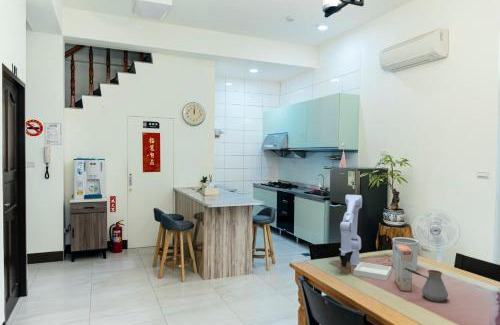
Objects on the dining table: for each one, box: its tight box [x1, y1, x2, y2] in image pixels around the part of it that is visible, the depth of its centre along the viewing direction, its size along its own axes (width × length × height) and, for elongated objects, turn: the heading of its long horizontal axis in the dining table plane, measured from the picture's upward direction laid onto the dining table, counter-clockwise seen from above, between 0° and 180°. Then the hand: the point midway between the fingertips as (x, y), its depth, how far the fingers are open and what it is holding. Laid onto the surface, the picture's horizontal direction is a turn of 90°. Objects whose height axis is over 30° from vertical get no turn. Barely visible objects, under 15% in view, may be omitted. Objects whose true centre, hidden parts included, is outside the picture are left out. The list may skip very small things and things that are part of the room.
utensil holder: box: [391, 236, 420, 272], centre depth 217 cm, size 15×15×18 cm
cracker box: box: [394, 244, 413, 292], centre depth 185 cm, size 14×6×21 cm, turn 168°
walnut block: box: [339, 262, 352, 275], centre depth 207 cm, size 5×5×6 cm
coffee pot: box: [403, 268, 449, 302], centre depth 169 cm, size 21×12×15 cm, turn 93°
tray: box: [353, 261, 393, 281], centre depth 206 cm, size 18×18×3 cm
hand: (345, 264), depth 207 cm, fingers open, 7 cm apart
